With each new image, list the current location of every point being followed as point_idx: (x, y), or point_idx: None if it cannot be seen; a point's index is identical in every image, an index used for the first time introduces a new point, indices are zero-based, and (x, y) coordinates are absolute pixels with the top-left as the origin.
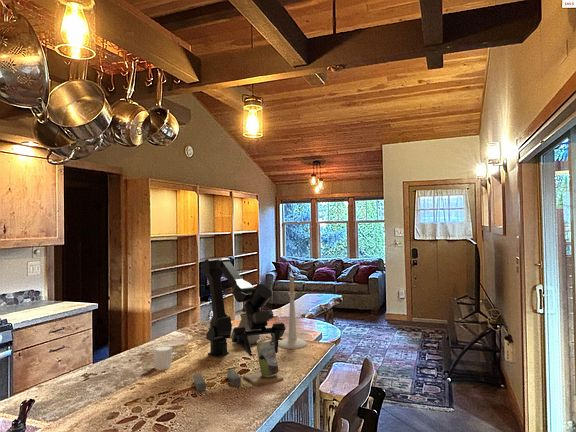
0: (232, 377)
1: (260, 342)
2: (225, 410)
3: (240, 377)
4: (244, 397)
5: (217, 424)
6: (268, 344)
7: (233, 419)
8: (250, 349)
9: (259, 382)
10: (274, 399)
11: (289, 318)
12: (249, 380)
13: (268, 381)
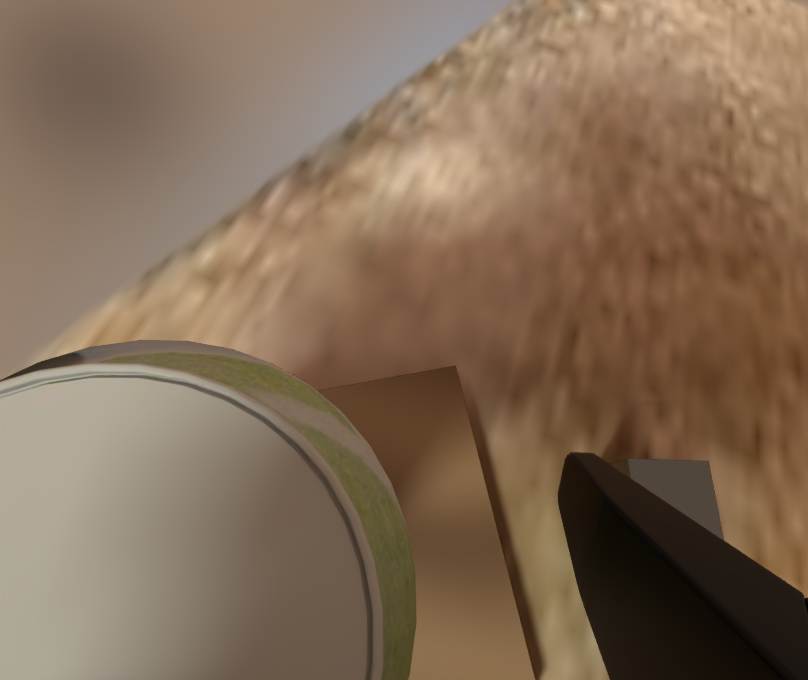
0: (717, 515)
1: (297, 609)
2: (743, 122)
3: (630, 465)
4: (603, 232)
5: (784, 18)
6: (138, 350)
7: (702, 28)
8: (633, 508)
9: (429, 398)
10: (416, 129)
11: None
12: (495, 532)
13: (340, 387)
